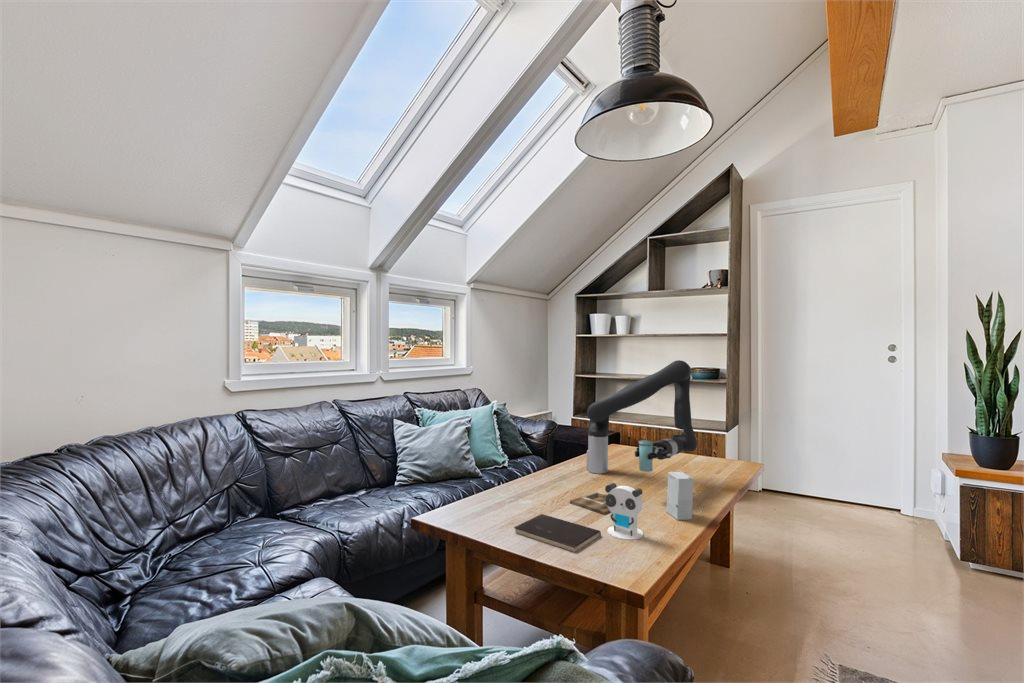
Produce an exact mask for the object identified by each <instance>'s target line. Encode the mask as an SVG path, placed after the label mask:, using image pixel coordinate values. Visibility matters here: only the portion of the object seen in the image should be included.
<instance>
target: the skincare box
mask: <svg viewBox="0 0 1024 683" xmlns="http://www.w3.org/2000/svg"><path fill="white" fill-rule="evenodd" d="M666 489H667V491H666V513H668V514H669V515H670V516H671V517H673V518H674V519H675V520H677V521H685V520H689V519H690V520H692V519H693V503H694V502H693V501H694V499H693V498H694V478H693V477H691V476H689V475H688V474H686V473H684V472H683V471H668V472H667V488H666Z"/></svg>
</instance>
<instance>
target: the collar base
mask: <svg viewBox="0 0 1024 683" xmlns="http://www.w3.org/2000/svg"><path fill="white" fill-rule="evenodd" d="M607 495H608V493H604V492H600V491H593V492H591V493H588V494H586V495H583V496H580V497H577V498H574V499H571V500H569V504H571V505H575V506H577V507H580V508H583V509H586V510H589V511H592V512H595V513H597V514H601V515H606V514H610V513H611V511H610V510H609V508H608V506H607V504H606V497H607Z"/></svg>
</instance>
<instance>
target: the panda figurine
mask: <svg viewBox="0 0 1024 683" xmlns="http://www.w3.org/2000/svg"><path fill="white" fill-rule="evenodd" d="M604 490H605V492H606V494H608V495H607V497H606V504H607V506H608V508H609V510H610V511H611V512H610V513H611V514H610V520H611V521H613V525H611V526H609V527H608V528H607V531H606V532H607V534H608V535H609V536H611V537H613V538H615V539H619V540H623V541H634V540H635V541H636V540H639V539H641V538H642V537H644V532H643V531H642V530H641V529H640V528H638V515H639V513H641V512H642V510H643V500H642V497H641V496H642V495H643V490H642V488H639V487H638V488H637V489H635V488H634V487H631V486H627V485H618V486H617V484H616V483H615V482H611V483H609V484H607V485H605V488H604Z"/></svg>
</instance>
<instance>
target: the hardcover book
mask: <svg viewBox="0 0 1024 683" xmlns="http://www.w3.org/2000/svg"><path fill="white" fill-rule="evenodd" d="M513 528H514V529H515V533H516V534H519V535H522V536H525V537H528V538H531V539H534V540H538V541H539V542H544V543H546V544H549V545H552V546H555V547H559V548H562V549H563V550H566V551H571V552H574V553H575V552H577V551H579V550H580V549H581V548H583V547H584V546H586V545H588V544H590V542H592V541H593V540H595V539H596V538H598V537H600V536H601V535H602V534H601V530H598V529H596V528H591V527H588V526H584V525H582V524H577V523H574V522H571V521H568V520H565V519H560V518H557V517H554V516H550V515H546V514H544V513H541V514H539V515H537V516H535V517H532V518H531V519H528V520H526V521H524V522H522V523H520V524H518V525H515V526H514V527H513Z"/></svg>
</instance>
